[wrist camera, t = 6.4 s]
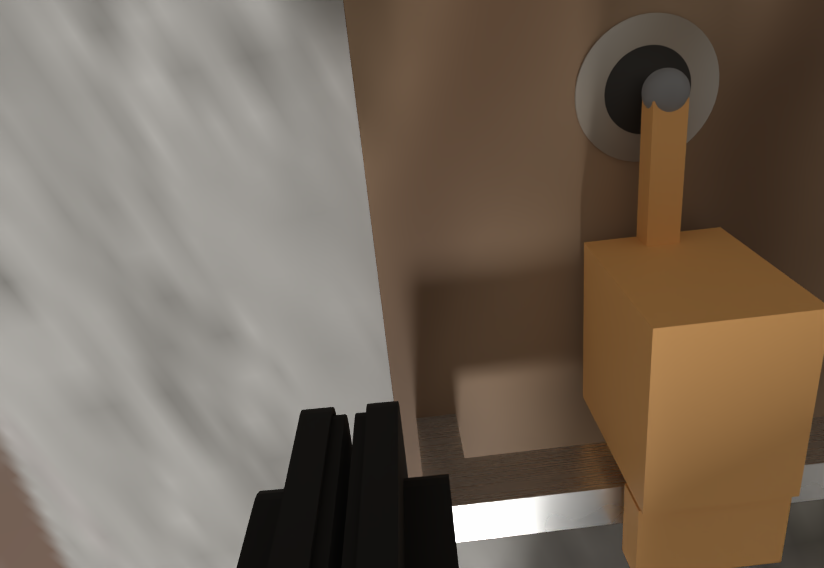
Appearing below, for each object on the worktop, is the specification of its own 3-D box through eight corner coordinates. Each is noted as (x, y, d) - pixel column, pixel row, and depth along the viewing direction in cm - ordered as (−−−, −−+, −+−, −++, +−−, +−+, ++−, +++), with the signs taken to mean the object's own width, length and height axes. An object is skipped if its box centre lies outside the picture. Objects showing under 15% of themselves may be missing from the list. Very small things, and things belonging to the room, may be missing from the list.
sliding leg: (732, 56, 14) (869, 89, 10) (697, 442, 18) (786, 569, 14) (583, 73, 14) (664, 111, 10) (580, 455, 18) (638, 587, 14)
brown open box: (1177, -100, 15) (1266, -108, 14) (1026, 375, 20) (1078, 407, 19) (344, -12, 15) (341, -10, 13) (401, 447, 20) (404, 486, 18)
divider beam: (1196, 3, 14) (1480, 14, 11) (1063, 388, 18) (1238, 493, 15) (379, 90, 14) (384, 134, 10) (421, 462, 18) (435, 589, 14)
